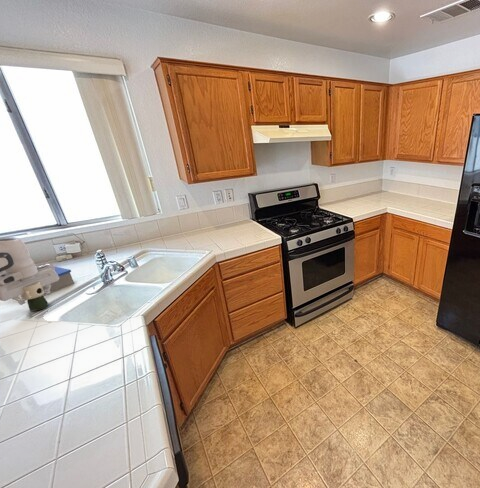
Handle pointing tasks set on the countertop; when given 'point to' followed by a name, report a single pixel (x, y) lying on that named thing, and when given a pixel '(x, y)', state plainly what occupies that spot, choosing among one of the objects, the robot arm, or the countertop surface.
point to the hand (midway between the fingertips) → (35, 298)
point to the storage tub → (61, 279)
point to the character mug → (34, 297)
